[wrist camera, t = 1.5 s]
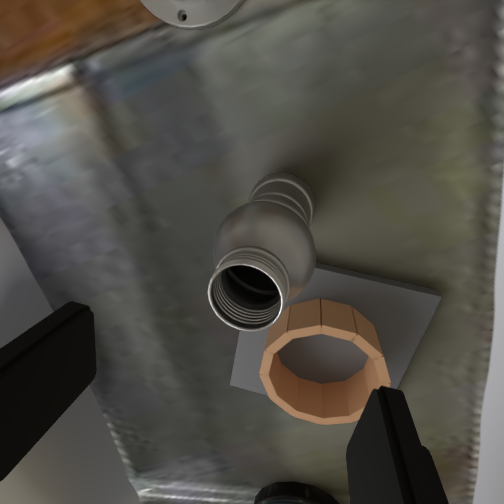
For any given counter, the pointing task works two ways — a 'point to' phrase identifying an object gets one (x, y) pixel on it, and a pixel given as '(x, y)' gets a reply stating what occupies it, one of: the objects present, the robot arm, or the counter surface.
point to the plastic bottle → (263, 253)
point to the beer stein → (293, 494)
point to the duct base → (335, 344)
